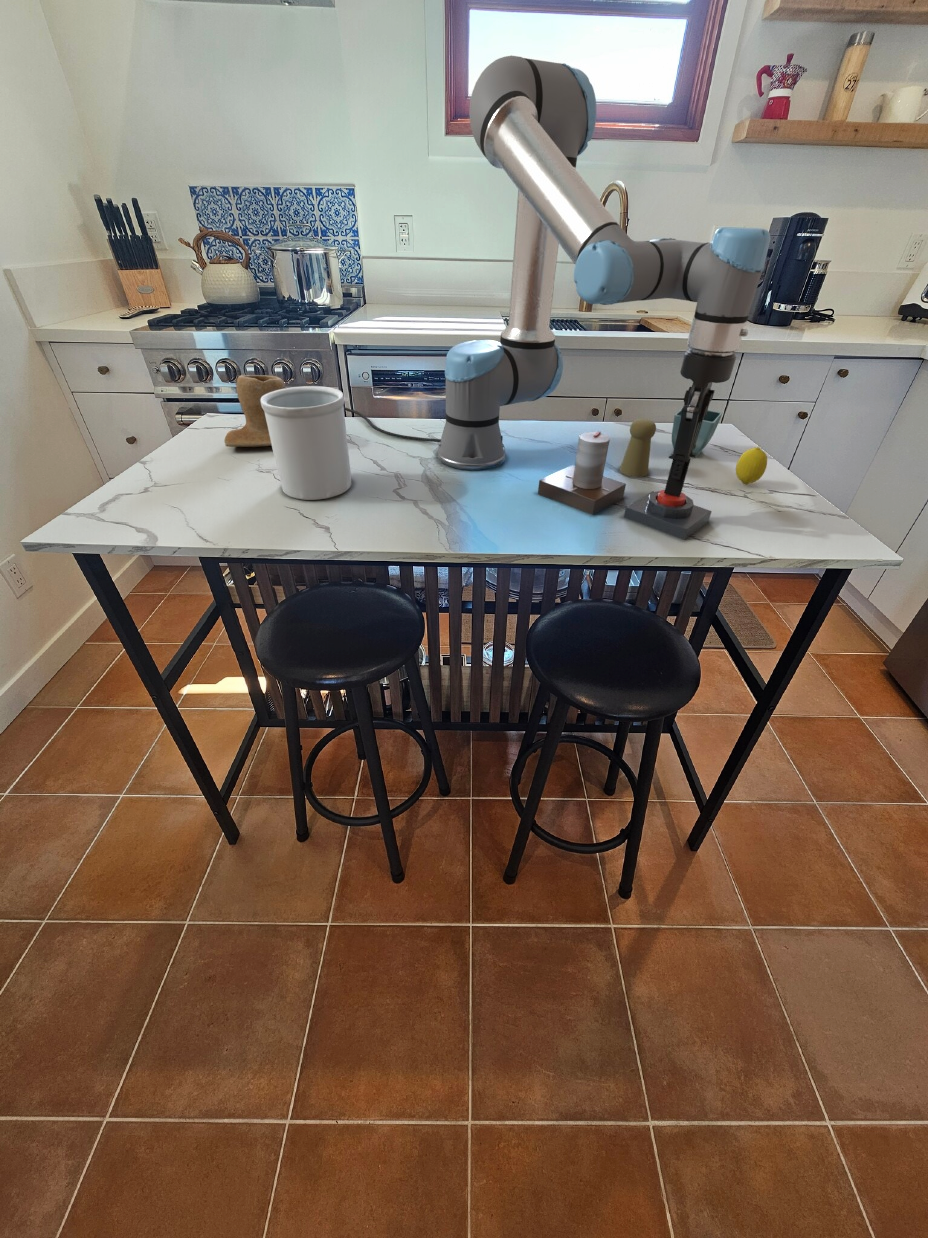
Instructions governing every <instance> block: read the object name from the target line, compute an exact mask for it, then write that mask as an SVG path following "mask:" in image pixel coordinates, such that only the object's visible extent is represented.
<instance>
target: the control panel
mask: <svg viewBox="0 0 928 1238" xmlns="http://www.w3.org/2000/svg"><path fill="white" fill-rule="evenodd" d="M574 468H575V465H572V464H571V465H569V466H567V467H565V468H562V469H560V470H557V471H556V472H553V473H552V474H549V475H547V476H545V477H542V478H541V479H539V480H538V489H537V495H539V496H542V497H545V498H547V499H549V500H553V501H554V502H557V503H560V504H563V505H565V506H567V507H570V508H573V509H575V510H577V511H581V512H584V513H586V514H588V515H590V516H594V515H596V514H597V513H599V512H601V511H603V510H605V509H606V508H608V507H610V506H612V505H613V504H615V503H617V502H618V501H620V500H622V499H624V495H625V491H626V486H627V484H626V483H625V482H622V481H619V480H616V479H613V478H610V477H607V476H604V475H603V479H602V485H601V486H600V487H599V488H596V489H584V488H580V487H577V486H575V485H574V484H573V475H574Z"/></svg>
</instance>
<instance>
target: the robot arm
mask: <svg viewBox="0 0 928 1238" xmlns="http://www.w3.org/2000/svg"><path fill="white" fill-rule="evenodd" d="M469 100H470V102H469V111H468V113H469V125H470V129H471V133H472V137H473V139H474V141H475V143H476V146H477V147H478V149H479V150H480V152H481V154H482V155H483V156H484V157H485V159H486V160H487V161H488V163H489V164H490V165H491V166H492V167H494V168H495V169H503V171H504V172H505V173H506V175H507V176H508V177H509V179H510V180H511V182H512V183H513V184H514V186H515V187H516V188H517V200H516V213H515V214H516V215H515V216H516V217H515V228H514V229H515V230H514V242H513V243H514V245H513V257H512V271H511V283H510V284H511V286H510V299H509V312H508V313H509V314H508V325H507V326H506V327H505V328H504V329H503V330H502V331H501V332H500V340H499V341H497V340H493V339H480V340H476V339H475V340H468V341H464V342H460V343H458V344H456V345H454V346H453V347H451V348H450V349H449V350H448V352H447V353H446V358H445V368H444V377H445V424H444V427H443V429H442V430H443V431H442V434H441V436H440V437H441V438H429V437H419V436H411V435H405V434H404V435H403V434H399V433H396V432H390V431H388V430H385V429H383V428H380V427H378V426H376V425H375V424H373V422H372V421H371V419H369V418H368V417H367V416H366V415H364V414H363V413H361V412H359V411H357V410H354V409H351V408H348V407H346V406H343V407H344V411H346V412H349V413H352V414H356V415H357V416H359V417H361V418H362V419H363V420H365V421H366V422H367V423H368V425H369V426H370V427H371V428H372V429H374V430H375V431H377V432H379V433H381V434H385V435H387V436H391V437H394V438H400V439H405V440H412V441H419V442H431V443H438V446H437V459H438V461H439V462H440V463H442V464H443V465H445V466H448V467H450V468H454V469H459V470H466V471H481V470H489V469H492V468H495V467H498V466H499V465H501V464H503V463H504V462H505V460H506V448H505V444H504V443H503V440H504V439H503V438H504V436H503V435H502V432H501V427H500V411H501V410H500V409H501V407H505V406H509V405H515V404H520V403H524V402H525V403H526V402H535V401H537V400H539V399H543V398H546V397H548V396H550V395H551V394H552V393H553V392H554V391H555V390H556V389H557V387H558V386H559V384H560V381H561V379H562V375H563V371H564V358H563V356H562V355H561V354H562V351H561V349H560V347H559V345H557V343H556V335H555V333H554V332H553V330H552V329H551V327H550V323H551V315H552V307H553V298H554V288H555V281H556V273H557V262H558V253H559V245H560V247H561V248H562V250H563V251H564V252H565V254H567V255H566V256H568V257H569V259H570V260H571V261H572V263H573V264H574V269H573V282H574V284H575V286H576V287H575V288H576V289H575V290H576V293H577V295H578V296H579V297H580V299H581V300H582V301H584V302H585V303H587V304H589V305H603V306H609V305H615V304H622V303H630V302H637V301H639V302H640V301H651V300H652V301H653V300H663V299H672V300H681V301H688V302H691V303H696V307H695V310H694V315H693V317H692V322H691V326H690V329H689V333H688V337H687V341H686V345H687V347H688V349H687V350H686V351H684V354H683V359H682V362H681V367H680V375H681V376H682V378H683V379H684V378H685V379H687V380H691V382H692V385H691V386H688V389H686V390H685V393H684V397H683V406H682V407H681V409H682V415H681V421H680V425H679V429H678V434H677V438H676V443H675V447H674V448H673V452H672V453H670V454H669V456H668V459H670V460H672V461H671V466H670V469H669V473H668V477H667V480H666V484H665V488H664V490H665V491H664V493H665V494H670V495H674V496H680V494H681V492H682V493H683V488H684V484H685V480H686V478H687V474H688V470H689V467H690V464H691V458H693V459H696V457H697V456H696V454H697V453H693V450H694V449H695V447H696V442H697V438H698V435H699V432H700V429H701V425H702V422H703V419H704V417H705V416H706V414H707V411H708V410H709V408H710V403H711V402H712V400H713V399H714V396H715V389H712V387H713V383H714V384H721V383H725V382H727V381H729V380H730V378H731V376H732V373H733V369H734V366H735V363H736V360H737V356H736V354H735V352H737V351H738V350H739V348H740V345H741V341H742V337H743V338H744V337H747V336H748V335H749V330H748V329H747V328H745V326H747V321H748V319H749V314H750V312H751V307H752V304H753V302H754V298H755V295H756V292H757V289H758V286H759V283H760V280H761V277H762V274H763V272H764V270H765V266H766V265H765V263H766V260H767V256H768V251H769V248H770V243H771V239H772V238H771V233H770V232H769V230H768V229H765V228H759V227H739V226H738V227H736V226H721V227H719V228H717V229H716V230H715V232H714V235H713V236H712V240H711V241H709V242H699V241H692V240H682V239H677V238H671V237H670V238H665V237H663V238H654V239H650V240H634V239H631V237H630V236H629V235H628V233H627V232H626V231H625V230H624V229H623V228H622V227H621V225H620V224H619V223H618V222H617V221H616V220H615V218H614V217H613V216H612V214H611V213H610V212H609V211H608V209H607V208H606V207H605V206H604V204H603V203H602V201H601V200H600V199H599V198H598V196H597V195H596V194H595V193H594V191H593V190H592V189H591V188H590V186H589V185H588V184H587V182H586V181H585V179H583V177H582V176H581V175H580V174H579V172H578V170H577V161H578V157H579V156H580V155H582V154H583V153H584V152H585V151H586V149H587V148H588V145H589V144H588V143H589V142H590V141H592V138H593V137H594V132H595V128H596V124H597V123H596V122H597V99H596V93H595V89H594V86H593V85H592V83H591V81H590V78H589V77H588V76H587V74H586V72H584V71H583V70H581V69H580V68H577V67H573V66H570V65H568V64H567V63H561V62H553V61H546V60H540V59H532V58H526V57H523V56H519V55H505V56H502V57H499V58H497V59H495V60H493V61H492V62H491V63H489V64H488V65H487V66H486V67H485V68H484V69H483V70H482V72H481V73H480V75H479V77H478V78H477V80H476V82H475V84H474V87H473V89H472V91H471V96H470V99H469Z"/></svg>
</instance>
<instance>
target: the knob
mask: <svg viewBox="0 0 928 1238" xmlns="http://www.w3.org/2000/svg"><path fill="white" fill-rule="evenodd" d="M610 440H611V438H610V436H608V435H607V434H605V433H602V432H601V431H599V430H598V431H596V432H595V431H591V432H589V431H587V432H583V433H581V434H579V436H578V442H577V448H576V455H575V462H574V466H575V468H574V475H573V484H574V485H575V486H577V487H580V488H584V489H596V488H599V487H600V486H601V485H602V479H603V476H604V475H605V473H604V472H605V468H606V462H607V457H608V451H609V446H610Z"/></svg>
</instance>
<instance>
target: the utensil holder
mask: <svg viewBox="0 0 928 1238" xmlns="http://www.w3.org/2000/svg"><path fill="white" fill-rule="evenodd" d="M285 388H286V387H285ZM260 401H261V406H262V408H263V410H264V412H265V417H266V421H267V426H268V430H269V435H270V439H271V444H272V446H271V448H272V452H273V458H274V463H275V466H276V470H277V474H278V477H279V482H280V485H281V490H282V491H283V493H284V494H285V495H286V496H288V497H291V498H293V499H298V500H305V501H314V500H315V501H317V500H323V499H324V500H325V499H331V498H334V497H336V496H340V495H341V494H343V493H345V492H347V491H348V490H349V489H350V488H351V486H352V475H351V474H352V473H351V462H350V453H349V445H348V437H347V425H346V416H345V410H344V407H345V406H344V404H345V395H344V393H343V392H342V390H340V389H337V388H333V387H329V386H321V385H320V386H319V385H303V386H293V387H287V388H286V389H280V390H276V391H273V392H270V393H267V394H265V395H264V396H262V397H261V400H260Z"/></svg>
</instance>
